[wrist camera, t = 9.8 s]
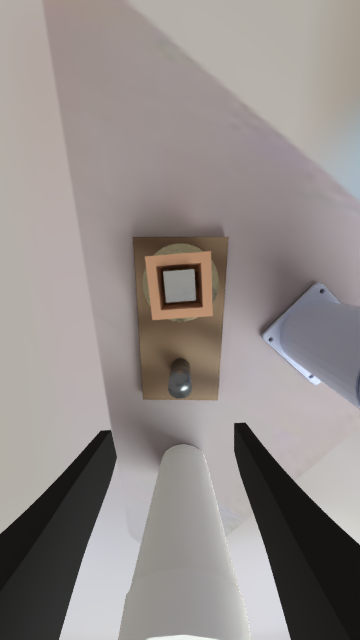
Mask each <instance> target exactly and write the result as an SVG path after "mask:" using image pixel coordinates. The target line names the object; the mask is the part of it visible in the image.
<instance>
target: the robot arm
mask: <svg viewBox="0 0 360 640" xmlns="http://www.w3.org/2000/svg"><path fill="white" fill-rule="evenodd" d="M321 289H322V292H321V293H320V290H321ZM270 337H271V340H268V339H269V338H270ZM262 338H263V339H264V340H265V341H266V342H267V343H268V344H269V345H270V346H271V347H272V348H274V349H275V350H276V351H277V352H278V353H279V354H280V355H281V356H282V357H284V358H285V359H286V360H287V361H288V362H289V363H290V364H291V365H292V366H293V367H295V368H296V369H297V370H298V371H299V372H300V373H301V374H302V375H303V376H305V377H306V378H307V379H308V380H309V381H310V382H311V383H312V384H314V385H318V384H320V383H321V382H323V383H325V384H326V385H327V386H329V387H330V388H331V389H333V390H334V391H336V392H337V393H338V394H340V395H341V396H342V397H344V398H345V399H346V400H348V401H349V402H350V403H352V404H353V405H355V406H356V407H357V408H359V409H360V307H358V306H351V305H345V304H341V303H340V302H339V301H338V299H337V298H336V297H335V296H334V295H333V294H332V293H331V292H330V291H329V290H328V289H327V288H326V287H325V286H324V285H323V284H322V283H315V284H314V285H313V286H312V287H311V288H310V289H309V290H307V291H306V292H305V293H304V294H303V295H302V296H301V297H300V298H299V299H298V300H297V301H296V302H295V303H294V304H293V305H292V306H291V307H290V308H289V309H288V310H287V311H286V312H285V313H284V314H282V315H281V316H280V317H279V318H278V319H277V320H276V321H275V322H274V323H273V324H272V325H271V326H270V327H269V328H268V329H267V330H266V331H265V332H264V333H263V334H262ZM310 375H311V376H310ZM234 452H235V456H236V460H237V464H238V468H239V472H240V475H241V478H242V481H243V484H244V487H245V490H246V493H247V496H248V498H249V501H250V504H251V507H252V510H253V513H254V516H255V519H256V521H257V524H258V527H259V530H260V533H261V536H262V539H263V542H264V545H265V548H266V552H267V555H268V559H269V562H270V566H271V569H272V573H273V576H274V580H275V583H276V587H277V591H278V594H279V598H280V602H281V605H282V609H283V612H284V616H285V620H286V623H287V626H288V631H289V634H290V638H291V640H360V545H359V544H358V543H357V542H356V541H355V540H354V539H353V538H351V537H350V536H349V535H348V534H347V533H346V532H345V531H344V530H343V529H342V528H340V527H339V526H338V525H337V524H336V523H335V522H334V521H333V520H332V519H331V518H330V517H329V516H328V515H327V514H326V513H325V512H324V511H323V510H322V509H321V508H320V507H319V506H318V505H317V504H316V503H314V501H313V500H312V499H311V498H309V496H308V495H307V494H306V493H305V492H304V491H303V490H302V489H301V488H300V487H299V486H298V485H297V484H296V483H295V482H294V480H293V479H292V478H291V477H290V476H289V475H288V474H287V473H286V472H285V471H284V469H283V468H282V467H281V466H280V465H279V464H278V463H277V461H276V460H275V459H274V458H273V457H272V456H271V454H270V453H269V452H268V451H267V450H266V448H265V447H264V446H263V445H262V443H261V442H260V441H259V440H258V438H257V437H256V436H255V434H254V433H253V432H252V431H251V429H250V428H249V426H248V425H247V424H246V423H234ZM116 459H117V455H116V451H115V446H114V442H113V437H112V432H111V430H107V431H106V430H105V431H100V432H99V434H97V436H96V437H95V438H94V439H93V440H92V441H91V442H90V443H89V445H88V446H87V447H86V448H85V449H84V450H83V451H82V452H81V454H80V455H79V456H78V457H77V458H76V459H75V460H74V461H73V463H72V464H71V465H70V466H69V467H68V468H67V469H66V470H65V471H64V472H63V473H62V475H61V476H60V477H59V478H58V479H57V480H56V481H55V482H54V483H53V484H52V485H51V486H50V487H49V488H48V489H47V490H46V491H45V492H44V493H43V494H42V495H41V496H40V497H39V498H38V499H37V500H36V501H35V502H34V503H33V504H32V505H31V506H30V507H29V508H28V509H27V510H26V511H25V512H24V513H23V514H22V515H21V516H20V517H18V518H17V519H16V520H15V521H14V522H13V523H12V524H11V525H10V526H9V527H8V528H7V529H6V530H4V531H3V532H2V533H1V534H0V640H59V637H60V634H61V630H62V627H63V623H64V620H65V616H66V613H67V609H68V606H69V602H70V599H71V595H72V592H73V588H74V585H75V582H76V579H77V575H78V572H79V569H80V565H81V562H82V559H83V556H84V553H85V550H86V547H87V544H88V541H89V538H90V536H91V533H92V530H93V527H94V525H95V522H96V519H97V517H98V514H99V511H100V508H101V506H102V503H103V500H104V498H105V495H106V492H107V489H108V487H109V484H110V481H111V477H112V474H113V470H114V466H115V463H116Z"/></svg>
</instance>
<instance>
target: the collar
mask: <svg viewBox="0 0 360 640" xmlns="http://www.w3.org/2000/svg"><path fill="white" fill-rule="evenodd" d="M145 262H146V270H147V279H148V287H149V295H150V304H151V312H152V320H163V319H177V318H191V317H206V316H213V306H212V271H211V251H205V252H193V253H181V254H169V255H157V256H145ZM187 266H198V281H199V302H200V303H186V304H172V305H164V295H163V285H162V275H161V269H162V268H174V267H187Z"/></svg>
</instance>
